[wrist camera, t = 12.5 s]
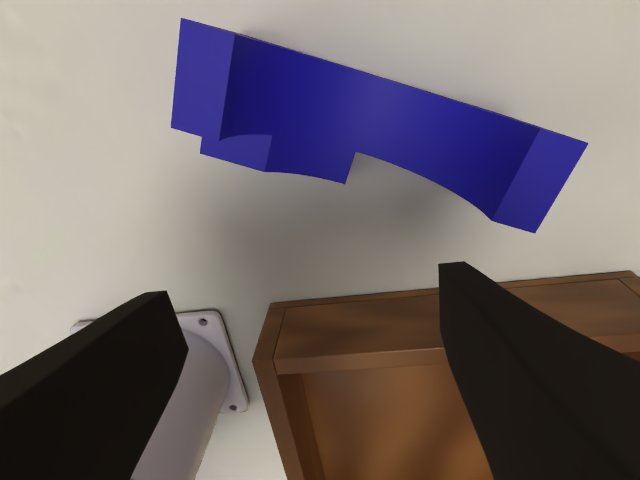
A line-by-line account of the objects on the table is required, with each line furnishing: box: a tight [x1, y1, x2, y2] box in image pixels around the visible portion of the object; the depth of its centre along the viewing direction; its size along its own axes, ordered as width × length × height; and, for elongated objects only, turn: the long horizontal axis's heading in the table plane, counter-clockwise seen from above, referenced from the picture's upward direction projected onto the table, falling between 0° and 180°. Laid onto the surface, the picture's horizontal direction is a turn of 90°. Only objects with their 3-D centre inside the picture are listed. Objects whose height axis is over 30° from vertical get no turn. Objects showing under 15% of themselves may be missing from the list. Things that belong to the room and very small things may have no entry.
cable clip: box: [171, 18, 588, 233], centre depth 14 cm, size 12×4×6 cm, turn 74°
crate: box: [252, 271, 640, 480], centre depth 22 cm, size 19×19×5 cm
